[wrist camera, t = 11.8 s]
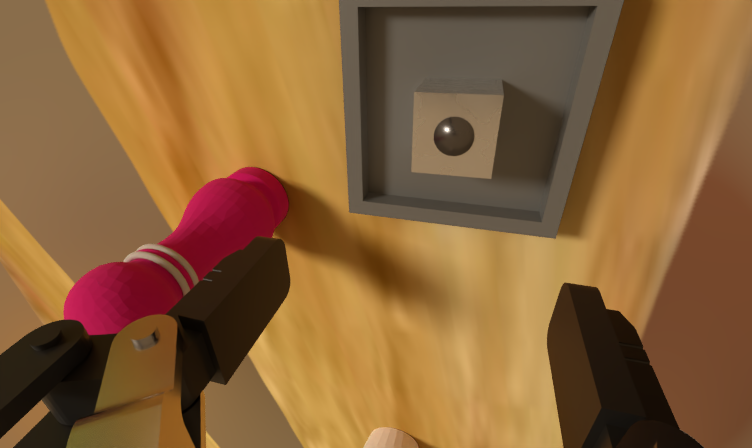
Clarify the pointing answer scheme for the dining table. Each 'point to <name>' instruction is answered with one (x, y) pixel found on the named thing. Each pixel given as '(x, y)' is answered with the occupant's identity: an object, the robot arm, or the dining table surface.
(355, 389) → the dining table surface
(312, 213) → the dining table surface
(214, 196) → the pepper mill
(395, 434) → the cup
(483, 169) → the grey dotted cube
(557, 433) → the dining table surface
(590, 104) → the tray
